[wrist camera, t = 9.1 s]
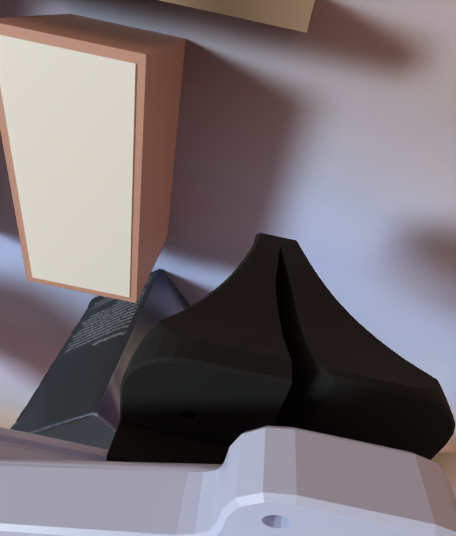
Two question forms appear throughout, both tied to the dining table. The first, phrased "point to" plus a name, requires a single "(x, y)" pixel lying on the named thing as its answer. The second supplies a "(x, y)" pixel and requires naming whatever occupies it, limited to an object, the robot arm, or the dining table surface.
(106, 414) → the small box
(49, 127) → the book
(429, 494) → the robot arm
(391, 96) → the dining table surface
